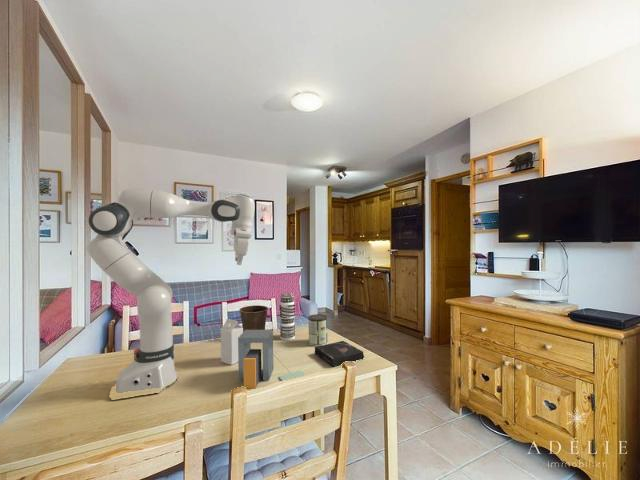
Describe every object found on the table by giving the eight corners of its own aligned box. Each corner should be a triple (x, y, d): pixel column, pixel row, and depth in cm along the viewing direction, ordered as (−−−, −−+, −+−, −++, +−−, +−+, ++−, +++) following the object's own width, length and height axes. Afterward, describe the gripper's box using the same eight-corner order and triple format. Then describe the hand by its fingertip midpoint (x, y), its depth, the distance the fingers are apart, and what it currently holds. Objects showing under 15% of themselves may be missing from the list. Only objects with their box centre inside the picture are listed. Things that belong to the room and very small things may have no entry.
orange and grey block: (255, 388, 107) (255, 359, 107) (243, 388, 107) (243, 359, 107) (263, 371, 121) (263, 345, 121) (253, 371, 121) (252, 345, 121)
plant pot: (272, 337, 162) (272, 309, 162) (244, 343, 153) (244, 313, 153) (262, 330, 176) (262, 304, 176) (236, 335, 167) (236, 307, 167)
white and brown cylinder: (296, 334, 166) (295, 292, 166) (295, 340, 157) (294, 295, 157) (280, 334, 166) (280, 292, 166) (278, 340, 157) (278, 295, 157)
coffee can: (315, 338, 160) (314, 313, 160) (331, 341, 155) (330, 315, 155) (304, 344, 151) (304, 317, 151) (321, 347, 146) (320, 320, 146)
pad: (288, 388, 106) (288, 387, 106) (278, 377, 115) (278, 376, 115) (311, 382, 111) (311, 380, 111) (301, 371, 120) (301, 370, 120)
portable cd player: (364, 359, 131) (364, 351, 131) (332, 368, 123) (332, 359, 123) (344, 348, 146) (344, 340, 146) (314, 355, 138) (314, 347, 138)
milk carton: (233, 356, 136) (232, 317, 136) (243, 359, 133) (243, 319, 133) (221, 362, 130) (220, 320, 130) (231, 365, 127) (231, 322, 127)
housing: (268, 380, 112) (268, 337, 112) (238, 380, 113) (238, 337, 113) (273, 369, 122) (272, 329, 122) (245, 369, 123) (245, 329, 123)
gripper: (232, 229, 133) (229, 258, 134) (236, 232, 114) (232, 266, 115) (246, 231, 136) (242, 259, 136) (252, 234, 117) (248, 267, 117)
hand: (237, 262), depth 126 cm, fingers open, 8 cm apart
